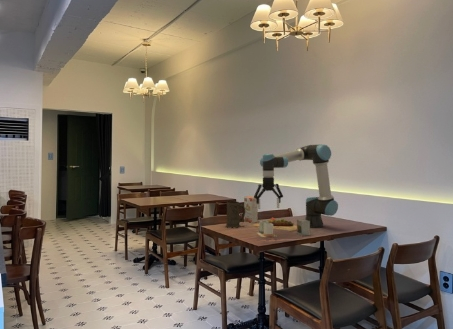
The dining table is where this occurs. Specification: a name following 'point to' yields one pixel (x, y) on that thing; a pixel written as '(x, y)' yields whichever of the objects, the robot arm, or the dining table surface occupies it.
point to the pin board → (263, 235)
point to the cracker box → (251, 209)
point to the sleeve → (268, 229)
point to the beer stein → (234, 214)
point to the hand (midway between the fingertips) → (268, 208)
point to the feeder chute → (303, 227)
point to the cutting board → (281, 224)
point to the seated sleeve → (262, 226)
